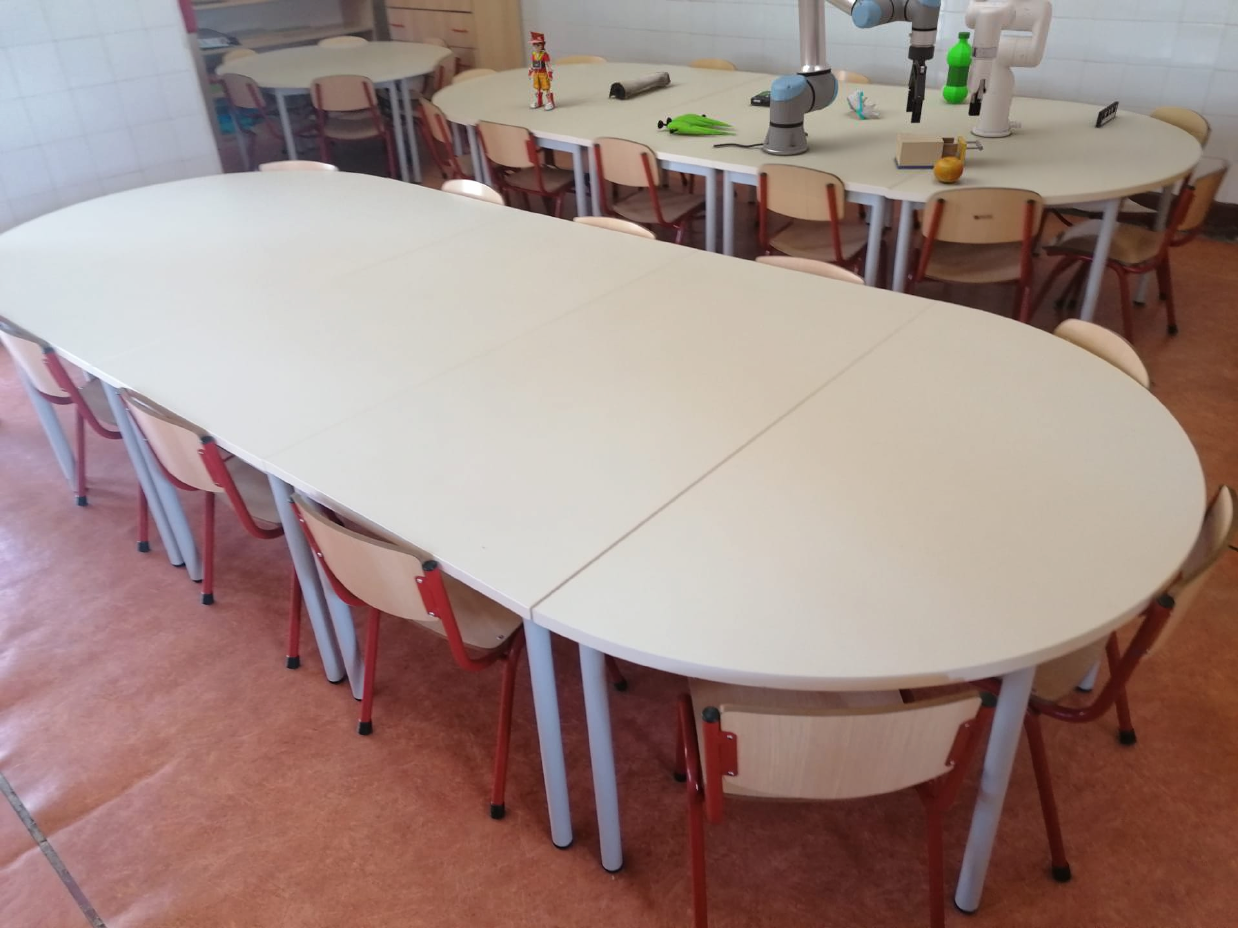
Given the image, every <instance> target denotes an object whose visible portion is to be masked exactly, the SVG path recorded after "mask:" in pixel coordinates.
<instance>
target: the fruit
mask: <svg viewBox="0 0 1238 928" xmlns="http://www.w3.org/2000/svg"><path fill="white" fill-rule="evenodd" d="M964 170H965V169H964V164H962V162H961V161H960V160H959V159H957V158H955V157H945V158H942V159H940V160H939V161H937V163H936V164H935V166H934V168H933V177H935V179H936V180H937V181H938V182H941V183H954V182H956V181H958V180H959V179H960V178H961V177H962V175H963V173H964Z"/></svg>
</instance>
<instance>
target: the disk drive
mask: <svg viewBox="0 0 1238 928" xmlns="http://www.w3.org/2000/svg"><path fill="white" fill-rule="evenodd" d="M770 92H771V90H764V91H762V92H760V93H757V94H756V95H754V96H752V97H751V98H750V105H752V106H753V105H754V106H762V107H770Z"/></svg>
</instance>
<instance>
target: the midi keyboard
mask: <svg viewBox="0 0 1238 928" xmlns="http://www.w3.org/2000/svg"><path fill="white" fill-rule="evenodd" d="M1119 103H1120V101H1117V100H1116V101H1113V102H1112V103H1111V104H1109V105H1107V106H1106V107H1104V108H1103V109H1101V110H1100V111H1098V114H1097V118H1096V122H1095V127H1096V128H1099V127H1101V126H1102V125H1104V124H1105V123H1106V122H1108V121H1109V120H1111V119H1113V118H1114V117H1116V115H1117V111H1118V107H1119Z"/></svg>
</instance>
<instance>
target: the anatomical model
mask: <svg viewBox="0 0 1238 928" xmlns="http://www.w3.org/2000/svg"><path fill="white" fill-rule="evenodd" d="M863 96H864V91H861V90H860V88H856V89H855V91H854V92H853V93H852V94H848V95H847V96H846V101H847V105H848V106H849V108H850V110H852V111H854V112H856V113H857V115H858V116H859V118H860V119H861V120H866V119H868V118H878V117H880V115H881V114H880V113H879V112H875V111H874V108H875V107H876V106H877V103H875V102H874V103H871V104H868V105H866V104H865V102H866V100H867V99H868V96H865V97H863Z"/></svg>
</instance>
